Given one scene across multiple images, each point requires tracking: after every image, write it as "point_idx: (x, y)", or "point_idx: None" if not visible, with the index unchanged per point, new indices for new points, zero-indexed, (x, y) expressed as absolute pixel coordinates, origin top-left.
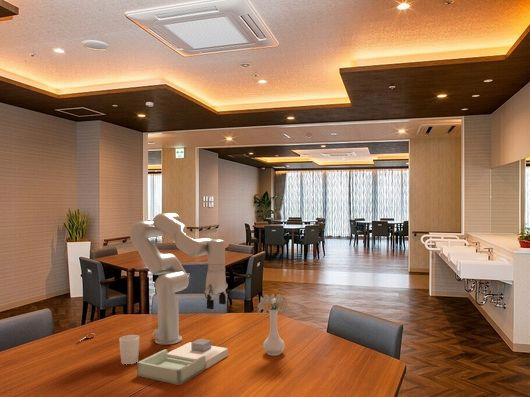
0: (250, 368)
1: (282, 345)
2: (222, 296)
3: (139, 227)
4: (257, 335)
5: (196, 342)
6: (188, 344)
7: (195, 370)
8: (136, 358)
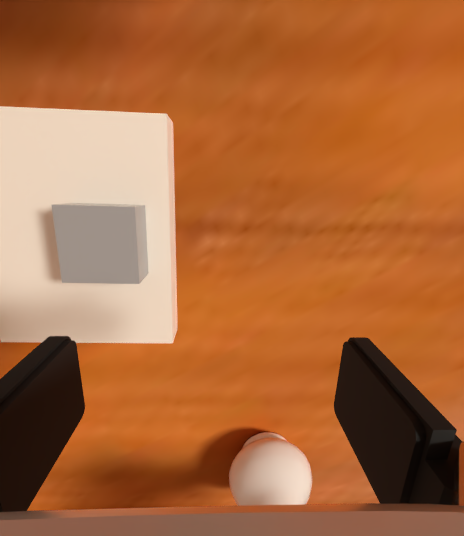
0: (109, 444)
1: None
2: (391, 477)
3: None
4: (446, 319)
5: (71, 228)
6: (131, 133)
7: None
8: None
